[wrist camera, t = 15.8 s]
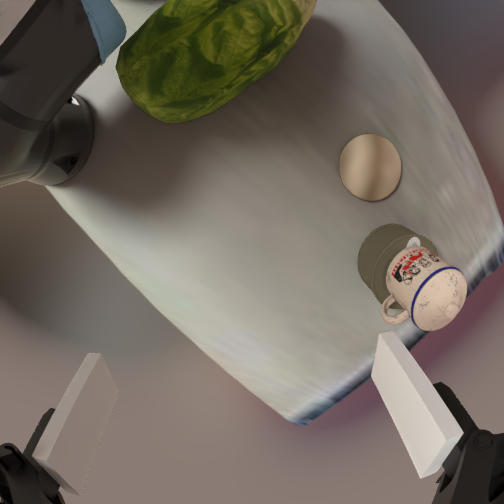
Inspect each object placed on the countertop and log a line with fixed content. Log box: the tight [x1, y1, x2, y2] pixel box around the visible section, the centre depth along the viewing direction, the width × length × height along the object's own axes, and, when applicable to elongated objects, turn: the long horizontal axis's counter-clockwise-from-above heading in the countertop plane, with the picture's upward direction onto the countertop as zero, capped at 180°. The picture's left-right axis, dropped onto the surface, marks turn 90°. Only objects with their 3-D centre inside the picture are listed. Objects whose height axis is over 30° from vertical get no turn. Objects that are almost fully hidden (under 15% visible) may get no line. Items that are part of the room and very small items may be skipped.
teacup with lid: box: [381, 246, 467, 331], centre depth 35 cm, size 12×9×12 cm
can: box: [358, 224, 438, 309], centre depth 44 cm, size 12×12×7 cm
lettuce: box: [116, 0, 317, 123], centre depth 29 cm, size 15×27×16 cm, turn 128°
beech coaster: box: [339, 134, 401, 201], centre depth 42 cm, size 10×10×1 cm
